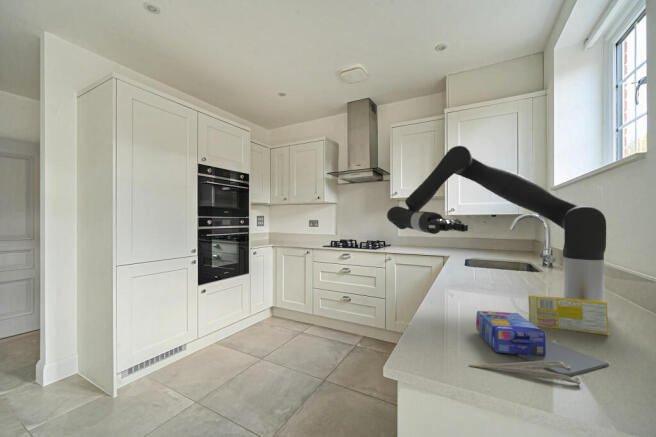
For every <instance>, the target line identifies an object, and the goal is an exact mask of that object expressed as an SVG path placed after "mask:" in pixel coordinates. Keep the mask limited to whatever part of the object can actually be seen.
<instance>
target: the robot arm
mask: <svg viewBox="0 0 656 437" xmlns="http://www.w3.org/2000/svg"><path fill="white" fill-rule="evenodd" d="M453 175H456V176H457V175H458V176H460V177H463V178H465V179H468V180H470V181H472V182H474V183H476V184H479V186H481V187H483V188H485V190H488V191H489V192H492V193H493V194H495V195H497V196H498V197H499V198H502V199H504V200H506V201H508V202H510V203H512V204H513V205H516V206H518V207H520V208H523V209H524V210H525V209H526V210H528V211H530V212H532V213H534V214H535V213H536V214H538V215H540V216H542V217H544V218H546V219H547V220H549V221H551V222H552V223H554V224H555V225H557V226H558V227H560V228H562V229H563V230H564V232H563V234H564V243H563V247H562V266H563V268H562V272H563V273H562V274H563V278H562V280H563V282H562V283H563V287H562V288H563V298H570V299H582V300H595V301H604V302H606V285H605V252H606V249H607V220H606V217H605V215H604V214H603V212H602V211H601V210H600V209H597V208H595V207H594V206H588V205H587V206H586V205H585V206H583V205H582V206H581V205H577V204H575V203H573V202H569V201H567V200H564V199H561V197H558V196H555V195H554V194H552V193H551V192H549V191H548V190H547V189H545V188H544V187H542V186H541V185H539V184H538V183H536V182H534V181H532V180H531V179H529V178H526V177H525V176H523V175H522V174H521V175H520V174H518V173H517V172H513V171H510V170H507V169H504V168H499V167H496V166H495V167H494V166H491V165H489V164H486V163H483V162H482V161H480V160H478V159H477V158H475V157H474V156H472V153H471V150H469V148H467V146H464V145H456V146H454V147H451V148H450V149H448V151H447V152H446V153H445V155H444V156H443V157H442V159H441V160H440V162H439V163H438V164H437V165H436V166H435V168H434V169H433V170H432V172H431V173H430V174H429V175H428V176H427V178H425V180H423V182H421V184H420V185H419V186H418V187H417V188H415V190H414V191H412V193H411V194H410V195H409V196H407V198H405V201H404V203H405V205H406V206H407V208H405V207H402V206H399V205H398V206H397V205H396V206H393V207H391V208H390V209H389V210H388V211H387V213H386V218H387V220H388V221H389V222H390V223H391V224H392V225H394V226H395V227H396V228H398V229H399V230H406V229H410V230H415V231H418V232H423V233H427V234H430V235H431V234H432V235H436V234H439V233H440V232H449V231H450V232H453V231H457V232H462V233H464V232H468V230H469V225H468V224H467V223H462V221H461V220H460V219H458V218H456V219H452V218H451V219H450V218H447V217H443V216H442V214H440V213H438V212H434V211H433V212H432V211H420V210H422V208H424V207H425V206H426V205H427V204H428V203H429V202H430V201H431V200H432V198H433V197H434V196H435V195H436V194H437V192H438V191H439V189H440V188H441V187H442V186H443V185H444V184H445V182H446V181H447V180H448V179H449V178H451V177H452V176H453Z"/></svg>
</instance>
